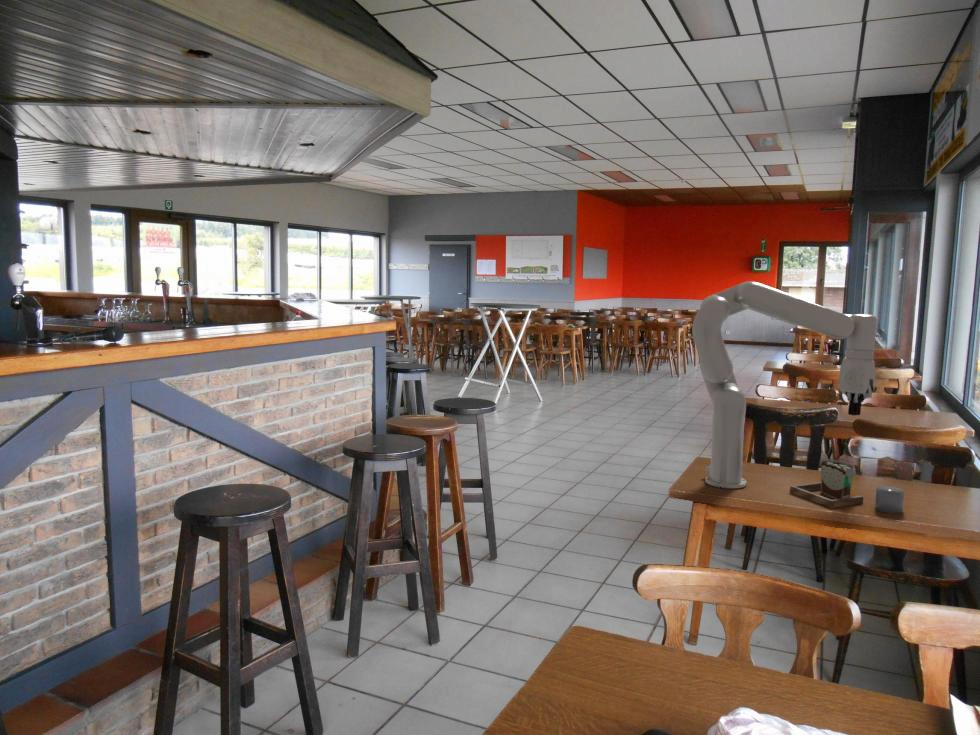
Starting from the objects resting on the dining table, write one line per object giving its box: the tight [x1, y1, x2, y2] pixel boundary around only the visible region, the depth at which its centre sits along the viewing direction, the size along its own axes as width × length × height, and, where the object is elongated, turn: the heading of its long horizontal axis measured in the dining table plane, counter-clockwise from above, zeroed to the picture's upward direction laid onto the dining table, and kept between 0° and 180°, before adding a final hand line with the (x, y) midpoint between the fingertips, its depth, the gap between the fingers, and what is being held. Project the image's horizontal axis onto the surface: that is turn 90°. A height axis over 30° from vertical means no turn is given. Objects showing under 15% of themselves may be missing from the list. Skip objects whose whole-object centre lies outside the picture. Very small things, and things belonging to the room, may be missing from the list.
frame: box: [789, 481, 864, 509], centre depth 217 cm, size 16×12×2 cm
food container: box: [819, 459, 857, 499], centre depth 219 cm, size 12×6×10 cm, turn 12°
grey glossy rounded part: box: [874, 485, 905, 515], centre depth 206 cm, size 7×7×6 cm
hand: (854, 414), depth 222 cm, fingers closed
